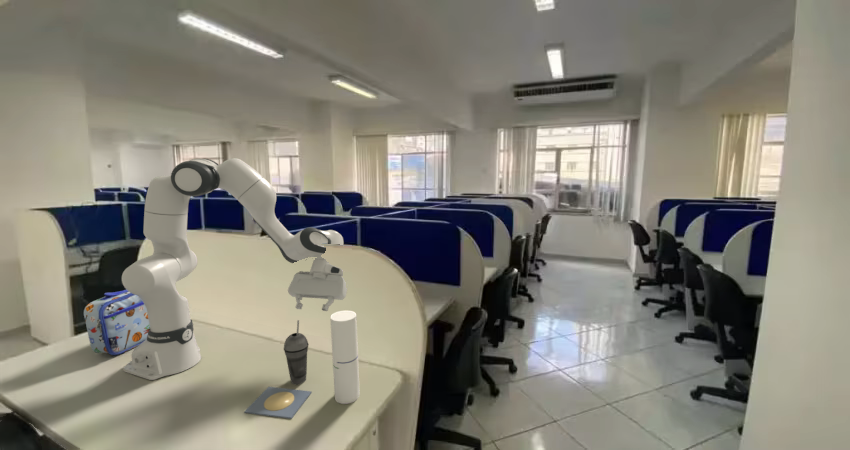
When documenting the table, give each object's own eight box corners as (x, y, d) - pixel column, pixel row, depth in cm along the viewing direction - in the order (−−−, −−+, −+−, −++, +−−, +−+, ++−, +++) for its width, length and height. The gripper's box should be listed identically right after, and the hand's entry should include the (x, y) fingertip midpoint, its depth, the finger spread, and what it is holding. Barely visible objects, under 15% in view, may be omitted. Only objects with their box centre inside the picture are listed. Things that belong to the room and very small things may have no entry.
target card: (244, 412, 96) (244, 411, 96) (268, 387, 107) (268, 386, 107) (291, 418, 94) (291, 417, 94) (311, 392, 104) (311, 391, 104)
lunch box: (108, 364, 120) (97, 303, 116) (84, 360, 122) (72, 300, 118) (178, 327, 146) (171, 277, 143) (158, 325, 148) (150, 275, 145)
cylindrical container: (353, 405, 99) (350, 322, 94) (330, 402, 100) (325, 320, 96) (363, 389, 106) (360, 311, 101) (341, 386, 107) (337, 309, 103)
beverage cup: (290, 374, 114) (285, 316, 110) (313, 372, 114) (309, 315, 111) (283, 388, 107) (278, 326, 103) (307, 386, 107) (303, 325, 104)
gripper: (292, 267, 124) (278, 303, 117) (347, 269, 121) (336, 307, 113) (299, 275, 129) (287, 311, 122) (352, 278, 126) (342, 315, 118)
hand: (311, 309), depth 117 cm, fingers open, 8 cm apart
